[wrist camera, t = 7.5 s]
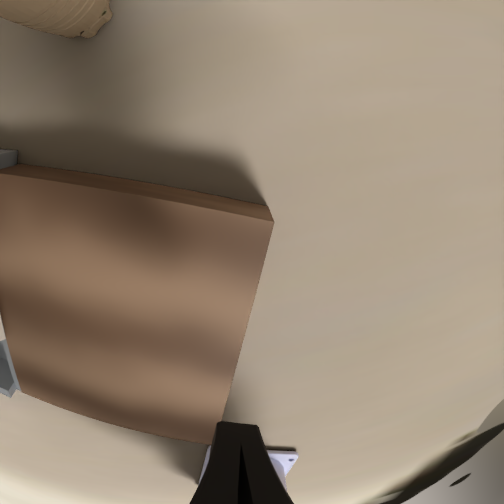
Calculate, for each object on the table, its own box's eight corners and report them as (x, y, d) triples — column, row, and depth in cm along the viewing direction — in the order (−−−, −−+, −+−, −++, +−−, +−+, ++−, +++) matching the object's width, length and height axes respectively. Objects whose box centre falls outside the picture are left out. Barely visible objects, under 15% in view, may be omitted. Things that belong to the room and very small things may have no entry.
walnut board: (215, 414, 22) (214, 445, 19) (37, 368, 20) (21, 391, 17) (268, 206, 16) (274, 222, 14) (20, 163, 15) (-11, 171, 12)
